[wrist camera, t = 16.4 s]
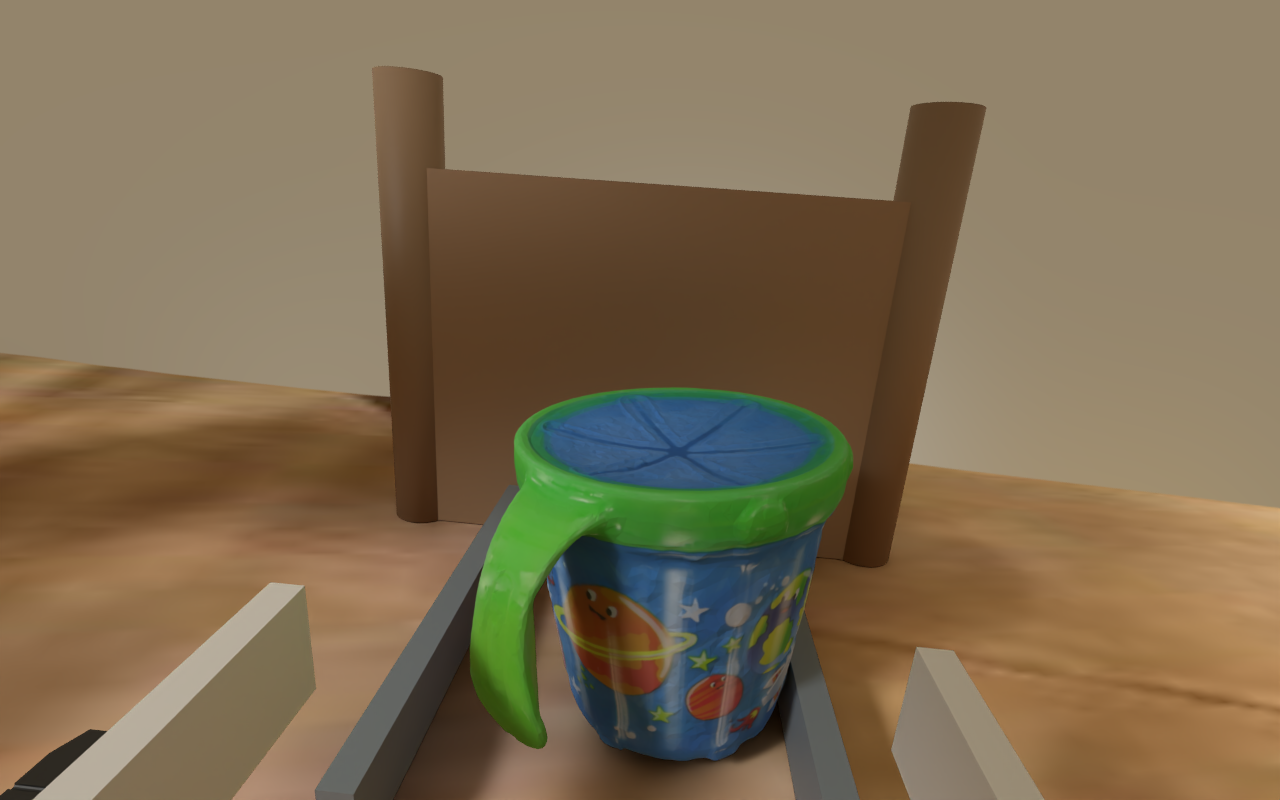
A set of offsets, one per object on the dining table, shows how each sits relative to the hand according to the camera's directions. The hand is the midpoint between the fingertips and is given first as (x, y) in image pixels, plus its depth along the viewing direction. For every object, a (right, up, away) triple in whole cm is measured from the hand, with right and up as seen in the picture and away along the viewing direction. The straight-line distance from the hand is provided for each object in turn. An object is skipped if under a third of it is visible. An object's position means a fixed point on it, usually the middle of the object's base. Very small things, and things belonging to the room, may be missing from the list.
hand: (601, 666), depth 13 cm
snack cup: (+2, -5, +9) cm, 11 cm away
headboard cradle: (0, -4, +12) cm, 13 cm away
